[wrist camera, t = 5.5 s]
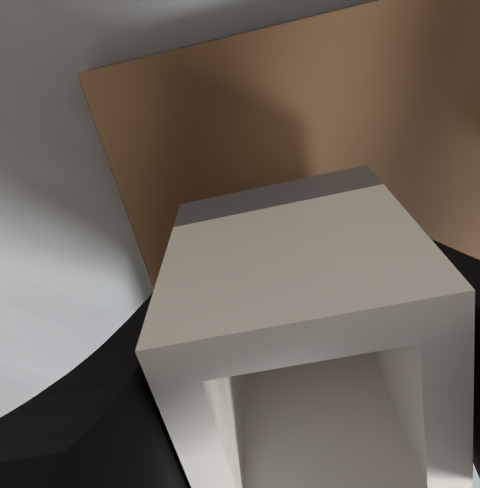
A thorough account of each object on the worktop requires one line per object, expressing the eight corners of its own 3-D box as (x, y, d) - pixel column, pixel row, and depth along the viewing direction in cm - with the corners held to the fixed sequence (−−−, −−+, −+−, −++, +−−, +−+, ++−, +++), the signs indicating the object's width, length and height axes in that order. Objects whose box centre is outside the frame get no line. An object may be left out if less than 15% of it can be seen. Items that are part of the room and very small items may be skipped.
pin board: (769, -96, 11) (1063, -160, 7) (674, 299, 17) (815, 389, 12) (88, 70, 13) (20, 93, 9) (196, 381, 18) (183, 484, 14)
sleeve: (366, 164, 12) (475, 289, 6) (382, 319, 14) (472, 509, 9) (180, 204, 12) (135, 351, 7) (223, 347, 14) (214, 544, 9)
